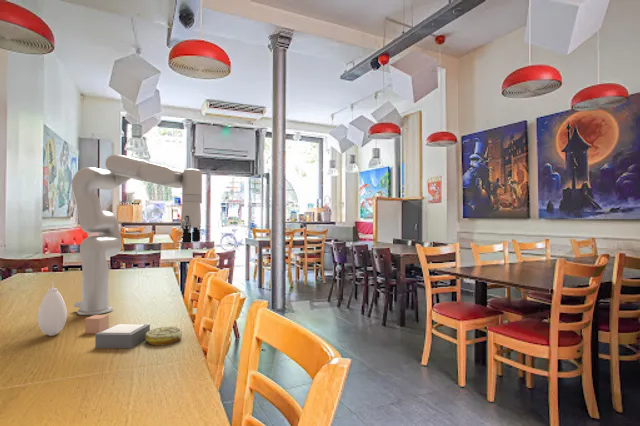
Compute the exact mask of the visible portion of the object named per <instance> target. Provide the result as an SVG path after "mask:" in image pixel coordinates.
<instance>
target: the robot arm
mask: <svg viewBox="0 0 640 426" xmlns="http://www.w3.org/2000/svg"><path fill="white" fill-rule="evenodd" d="M105 168H106V169H103V168H97V167H92V166H91V167H89V166H87V167H83V168H80V169H79V170H77V171H76V172H75V173H74V176H73V177H72V179H71V189H72V193H73V195H74V199H75V205H76V211H77V217H78V222H79V226H80V230H82V231H83V232H84V233H89V234H98V235H92V236H91V235H90V236H88V237H85V238H84V239H83V240H82V241H81V243H80V245H79V254H80V258H81V268H82V269H81V270H82V274H81V275H82V278H81V279H82V281H81V283H82V284H81V285H82V288H81V289H82V290H81V300H82V301H75V303H74V304H73V307H74V308H79V309H77V314H78V315H79V316H93V315H104V314H106V313H110V312H112V311H113V309H114V308H113V306H111V305H109V303H110V302H109V301H110V297H109V296H110V295H109V292H110V290H109V289H110V287H109V285H110V284H109V283H110V267H109V263H108V260H107V258H111V257H114V256H117V255H119V254H120V252H121V250H122V247H123V246H122V244H123V243H122V237H121V236H122V235H121V231H120V225H119V220H118V218H117V217H116V215H115V214H114V213H112V212H111V211H108V210H103V209H102V207H101V200H100V197H99V196H98V194H97V193H96V191H95V189H97V190H98V189H99V190H100V189H101V190H105V191H106V190H113V189H116V188H118V187H119V186H121V185H123V184H124V183H126V182H128V181H129V180H131V179H132V180H135V181H141V182H147V183H150V184H156V185H158V186H164V187H171V188H174V189H182V192H181V195H182V196H181V198H182V199H181V203H182V205H181V215H180V226H181V228H182V243H183V244H184V243H185V244H190V243H192V242H201V223H202V212H201V209H202V208H201V204H202V202H203V201H202V200H203V199H202V197H203V192H202V191H203V177H202V176H203V172H202V170H200V169H197V168H184V169H183V170H181V169H176V168H174V167H170V166H169V167H168V166H166V165H160V164H156V163H151V162H148V161H147V160H145V159H139V158H136V157H132V156H127V155H123V154H117V153H116V154H111V155H109V156H108V157H107V158H106V159H105ZM191 231H192V232H191Z"/></svg>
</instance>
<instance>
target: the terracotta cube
mask: <svg viewBox="0 0 640 426" xmlns="http://www.w3.org/2000/svg"><path fill="white" fill-rule="evenodd" d="M109 319H110V318H109V314H97V315H89V317H88V316H87V317H85V319H84V320H85V321H84V333H85V334H97V333H99V332H101V331H103V330H106V329H108V328H110V327H109Z"/></svg>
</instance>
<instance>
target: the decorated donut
mask: <svg viewBox="0 0 640 426" xmlns="http://www.w3.org/2000/svg"><path fill="white" fill-rule="evenodd" d="M182 337H183V331H182V329H181V328H179V327H177V326H161V327H157V328H153V329H150V331H148V332H147V333H146V335H145V341H146V342H147V344H148V345H151V346H162V345H163V346H165V345H171V344H173V343H176V342H177V341H179V340H180V339H181V338H182Z"/></svg>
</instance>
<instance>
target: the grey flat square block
mask: <svg viewBox="0 0 640 426" xmlns="http://www.w3.org/2000/svg"><path fill="white" fill-rule="evenodd" d="M150 330H151V324H145V323H144V324H142V323H139V324H138V323H136V324H135V323H131V324H129V323H122V324H121V323H117V324H114V325H112V326H110V327H108V329H106V330H103V331H101V332H99V333H94V334H95V337H94V338H95V339H94V341H95V344H94V346H95V349H97V348H98V349H132V348H133V347H136V346H137V345H138V344H141V343H142V342H144V341H146V339H145V335H146V333H147V332H148V331H150Z"/></svg>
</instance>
